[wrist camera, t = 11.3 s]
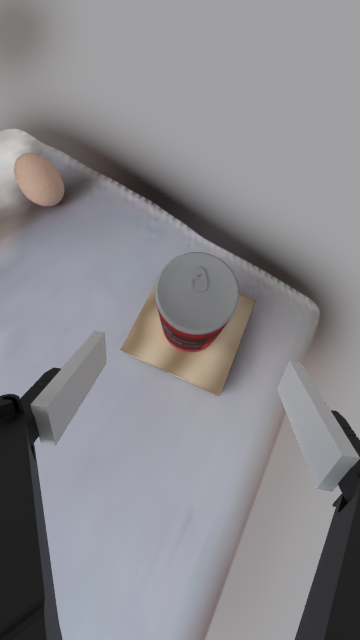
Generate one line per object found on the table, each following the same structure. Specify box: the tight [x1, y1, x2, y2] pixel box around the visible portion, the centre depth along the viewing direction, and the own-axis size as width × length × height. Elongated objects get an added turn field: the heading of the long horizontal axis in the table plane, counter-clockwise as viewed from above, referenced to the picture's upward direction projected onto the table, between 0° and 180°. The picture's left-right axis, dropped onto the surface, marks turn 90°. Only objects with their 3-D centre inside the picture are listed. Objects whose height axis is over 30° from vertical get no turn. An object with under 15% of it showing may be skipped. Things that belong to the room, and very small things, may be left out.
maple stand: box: [121, 282, 256, 396], centre depth 32 cm, size 14×14×3 cm
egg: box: [14, 153, 64, 206], centre depth 36 cm, size 7×7×8 cm
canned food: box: [155, 252, 239, 352], centre depth 25 cm, size 8×8×11 cm
